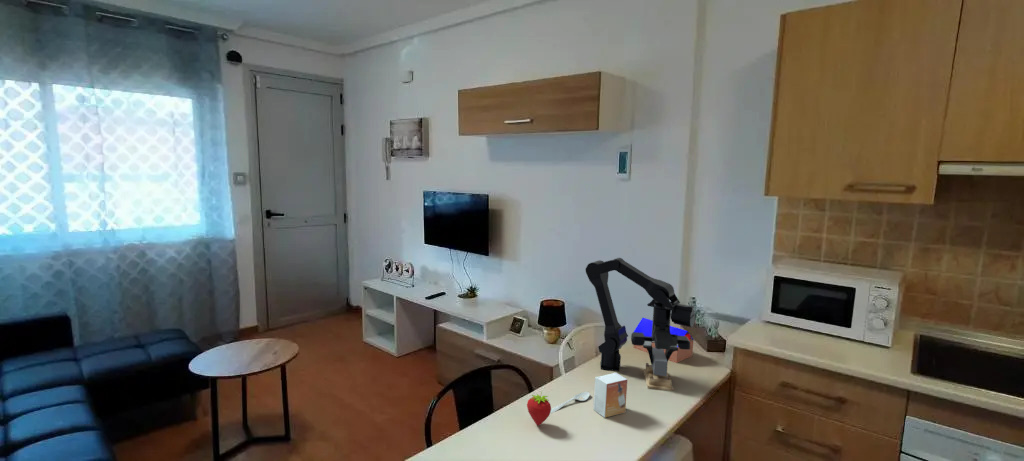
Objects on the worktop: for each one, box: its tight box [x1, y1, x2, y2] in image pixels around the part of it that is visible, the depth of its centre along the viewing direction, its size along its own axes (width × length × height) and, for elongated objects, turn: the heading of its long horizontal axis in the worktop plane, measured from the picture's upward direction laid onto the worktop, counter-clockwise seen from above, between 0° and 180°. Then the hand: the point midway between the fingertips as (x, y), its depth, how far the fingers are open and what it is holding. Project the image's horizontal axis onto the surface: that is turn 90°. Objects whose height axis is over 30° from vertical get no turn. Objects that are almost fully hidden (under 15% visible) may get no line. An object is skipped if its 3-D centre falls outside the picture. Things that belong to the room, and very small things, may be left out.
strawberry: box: [526, 391, 552, 426], centre depth 135 cm, size 6×8×10 cm
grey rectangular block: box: [650, 347, 669, 376], centre depth 165 cm, size 4×12×5 cm, turn 170°
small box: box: [593, 372, 628, 419], centre depth 143 cm, size 8×6×10 cm
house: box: [633, 317, 695, 364], centre depth 191 cm, size 12×20×12 cm, turn 40°
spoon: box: [550, 391, 591, 414], centre depth 147 cm, size 4×21×2 cm, turn 130°
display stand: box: [643, 362, 674, 392], centre depth 165 cm, size 8×14×4 cm, turn 170°
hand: (658, 364), depth 165 cm, fingers closed on grey rectangular block, 4 cm apart
